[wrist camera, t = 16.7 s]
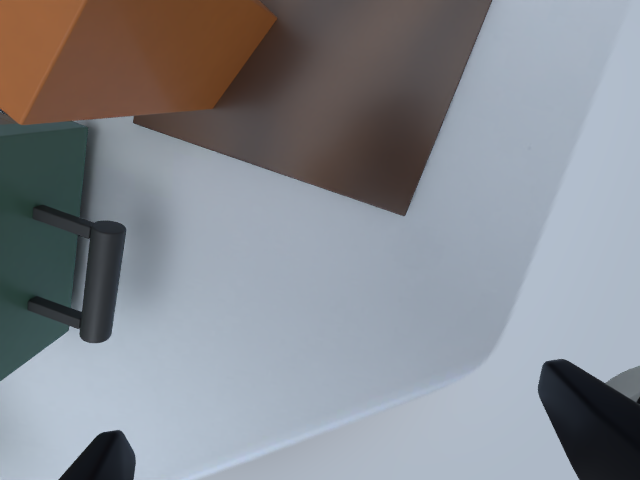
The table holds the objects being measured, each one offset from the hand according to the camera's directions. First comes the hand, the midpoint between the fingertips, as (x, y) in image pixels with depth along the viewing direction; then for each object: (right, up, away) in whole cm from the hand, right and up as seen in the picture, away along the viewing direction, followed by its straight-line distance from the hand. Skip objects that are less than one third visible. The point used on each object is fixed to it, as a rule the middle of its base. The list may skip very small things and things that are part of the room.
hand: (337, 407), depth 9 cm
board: (-1, +12, +10) cm, 15 cm away
